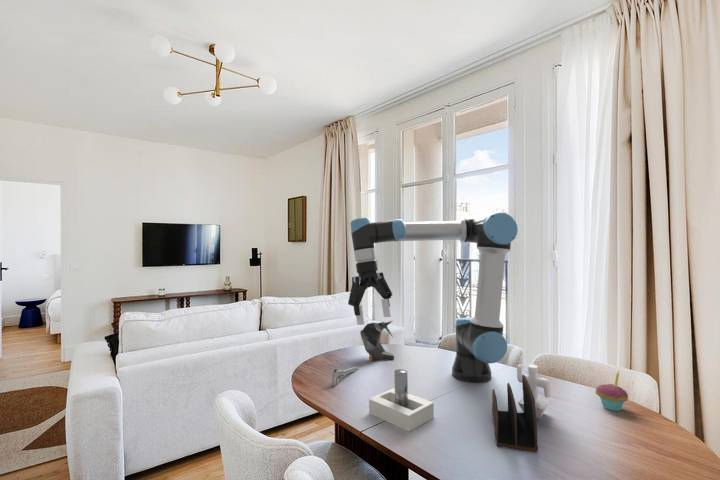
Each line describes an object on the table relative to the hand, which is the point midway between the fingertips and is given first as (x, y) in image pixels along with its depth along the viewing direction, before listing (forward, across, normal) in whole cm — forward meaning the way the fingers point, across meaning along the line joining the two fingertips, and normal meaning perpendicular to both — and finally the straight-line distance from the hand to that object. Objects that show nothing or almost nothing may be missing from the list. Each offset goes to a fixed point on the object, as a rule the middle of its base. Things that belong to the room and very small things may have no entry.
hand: (374, 320), depth 127 cm
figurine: (+34, -23, +41) cm, 57 cm away
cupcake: (+37, -44, +56) cm, 81 cm away
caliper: (+24, -3, -24) cm, 34 cm away
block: (+28, +7, +12) cm, 31 cm away
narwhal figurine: (+24, -29, -31) cm, 48 cm away
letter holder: (+33, -8, +40) cm, 53 cm away
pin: (+26, +7, +13) cm, 30 cm away
